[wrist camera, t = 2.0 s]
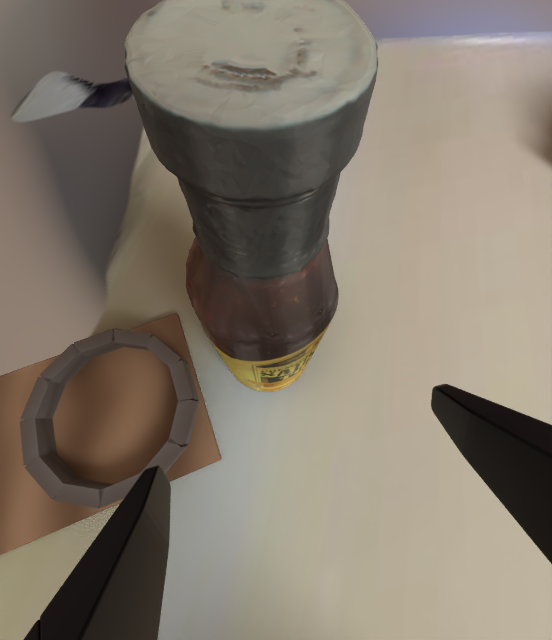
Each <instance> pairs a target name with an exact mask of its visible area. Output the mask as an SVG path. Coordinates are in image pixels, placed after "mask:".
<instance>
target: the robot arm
mask: <svg viewBox="0 0 552 640" xmlns="http://www.w3.org/2000/svg"><path fill="white" fill-rule="evenodd" d="M431 407H432V410H433V412H434V414H435V415H436V417H437V418H438V420H439V421H440V423H441V424H442V426H443V427H444V429H445V430H446V432H447V433H448V435H449V436H450V437H451V439H452V440H453V442H454V443H455V445H456V446H457V448H458V449H459V451H460V452H461V453H462V455H463V456H464V457H465V459H466V460H467V461H468V462H469V464H470V465H471V466H472V467H473V469H474V470H475V471H476V472H477V473H478V475H479V476H480V477H481V478H482V479H483V481H484V482H485V483H486V484H487V486H488V487H489V488H490V489H491V490H492V492H493V493H494V494H495V495H496V497H497V498H498V499H499V500H500V501H501V503H502V504H503V505H504V506H505V508H506V509H507V510H508V511H509V512H510V514H511V515H512V516H513V517H514V519H515V520H516V521H517V522H518V523H519V525H520V526H521V527H522V528H523V530H524V531H525V532H526V533H527V534H528V536H529V537H530V538H531V539H532V540H533V542H534V543H535V544H536V545H537V547H538V548H539V549H540V550H541V551H542V553H543V554H544V555H545V556H546V558H547V559H548V560H549V561H550V562H551V564H552V425H550V424H548V423H545V422H543V421H540V420H538V419H535V418H532V417H530V416H527V415H525V414H522V413H520V412H517V411H515V410H512V409H509V408H507V407H504V406H502V405H499V404H497V403H494V402H492V401H489V400H486V399H484V398H481V397H479V396H476V395H474V394H471V393H469V392H466V391H464V390H461V389H458V388H456V387H453V386H451V385H448V384H442V385H438V386H435V387H434V388H433V390H432V400H431ZM170 496H171V487H170V482H169V480H168V478H167V476H166V475H165V473H164V471H163V469H162V468H161V466H159V465H158V466H154V467H150V468H147V469H145V470H144V471H143V473H142V474H141V475H140V477H139V478H138V480H137V481H136V482H135V484H134V485H133V487H132V488H131V489H130V491H129V492H128V494H127V495H126V496H125V498H124V499H123V501H122V502H121V504H120V505H119V506H118V508H117V509H116V511H115V512H114V513H113V515H112V516H111V518H110V519H109V520H108V522H107V523H106V525H105V526H104V527H103V529H102V530H101V532H100V533H99V534H98V536H97V537H96V539H95V540H94V541H93V543H92V544H91V546H90V547H89V549H88V550H87V551H86V553H85V554H84V556H83V557H82V558H81V560H80V561H79V563H78V564H77V565H76V567H75V568H74V570H73V571H72V572H71V574H70V575H69V577H68V578H67V579H66V581H65V582H64V584H63V585H62V586H61V588H60V589H59V591H58V592H57V593H56V595H55V596H54V598H53V599H52V601H51V602H50V603H49V605H48V606H47V608H46V609H45V610H44V612H43V613H42V615H41V616H40V620H38V621H36V623H35V624H34V626H33V627H32V628H31V630H30V631H29V633H28V634H27V635H26V637H25V638H24V640H157V639H158V631H159V623H160V615H161V607H162V599H163V591H164V583H165V575H166V567H167V559H168V550H169V534H170Z"/></svg>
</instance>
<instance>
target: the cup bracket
mask: <svg viewBox="0 0 552 640" xmlns="http://www.w3.org/2000/svg"><path fill="white" fill-rule="evenodd" d="M219 460H221V455H220V452H219V449H218V445H217V442H216V439H215V435H214V432H213V429H212V426H211V422H210V419H209V416H208V412H207V409H206V406H205V402H204V399H203V396H202V392H201V389H200V386H199V382H198V379H197V376H196V372H195V369H194V366H193V363H192V359H191V356H190V353H189V349H188V346H187V343H186V339H185V336H184V333H183V329H182V326H181V323H180V319H179V316H178V314H177V313H175V314H172V315H169V316H167V317H164V318H161V319H158V320H155V321H153V322H150V323H147V324H144V325H141V326H139V327H136V328H133V329H130V330H120V329H115V330H113V329H111V330H108V331H105V332H103V333H100V334H97V335H94V336H91V337H89V338H86V339H83V340H80V341H77V342H75V343H74V345H73V344H72V345H70V346H69V347H68V348H67V349H66V350H65V351H64V352H63V353H62V354H60V355H58V356H55V357H52V358H49V359H46V360H44V361H41V362H38V363H35V364H33V365H30V366H27V367H24V368H22V369H19V370H16V371H13V372H10V373H8V374H5V375H2V376H0V555H1V554H3V553H6V552H8V551H10V550H13V549H15V548H17V547H20V546H22V545H24V544H27V543H29V542H31V541H33V540H36V539H38V538H40V537H43V536H45V535H47V534H50V533H52V532H54V531H57V530H59V529H61V528H64V527H66V526H68V525H71V524H73V523H75V522H77V521H80V520H82V519H84V518H87V517H89V516H91V515H94V514H96V513H98V512H101V511H103V510H105V509H108V508H110V507H112V506H115V505H117V504H119V503H121V502H122V501H123V499H124V498H125V496H126V495H127V494H128V492H129V491H130V489H131V488H132V487H133V485H134V484H135V482H136V481H137V480H138V478H139V477H140V475H141V474H142V473H143V471H144V470H145V469H147V468H150V467H154V466H158V465H159V466H161V468H162V469H163V471H164V473H165V475H166V476H167V478H168V480H169V482H170V481H172V480H175V479H177V478H179V477H182V476H184V475H186V474H189V473H191V472H193V471H196V470H198V469H200V468H203V467H205V466H207V465H209V464H212V463H214V462H216V461H219Z"/></svg>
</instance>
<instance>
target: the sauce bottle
mask: <svg viewBox="0 0 552 640" xmlns="http://www.w3.org/2000/svg"><path fill="white" fill-rule="evenodd" d="M125 57H126V62H125V70H126V73H127V76H128V79H129V82H130V86H131V89H132V92H133V94H134V97H135V100H136V103H137V106H138V109H139V112H140V115H141V118H142V122H143V125H144V128H145V131H146V134H147V136H148V139H149V142H150V145H151V148H152V149H153V151H154V153H155V154H156V156H157V158H158V159H159V161H160V162H161V163H162V164H163V165H164V166H165V167H166V169H167V170H169V171H170V172H172V173H173V174H174V175H175V176H177V177H178V181H179V185H180V187H181V190H182V192H183V194H184V196H185V199H186V201H187V205H188V208H189V211H190V214H191V217H192V219H193V231H194V233H195V236H196V238H195V239H194V242H193V245H192V247H191V249H190V251H189V256H188V258H187V263H186V288H187V292H188V295H189V298H190V300H191V303H192V307H193V308H194V309H195V312H196V314H197V316H198V318H199V320H200V321H201V324H202V327H203V329H204V331H205V333H206V335H207V336H208V338H209V339H210V341H211V342H212V344H213V345H214V346H215V348H216V349H217V351H218V352H219V354H220V355H221V357H222V358H223V360H224V362H225V363H226V364H227V366H228V367H229V369H230V370H231V372H232V373H233V375H234V376H235V377H236V378H237V379H238V380H239V381H240V382H241V383H242V384H244V385H245V386H247V387H249V388H251V389H254V390H257V391H264V392H273V391H276V390H280V389H283V388H285V387H287V386H289V385H290V384H292V383H293V382H294V381H295V380H296V379H297V378H298V377H299V376H300V375H301V374H302V372H303V370H304V369H305V367H306V365H307V363H308V361H309V360H310V358H311V356H312V354H313V353H314V351H315V349H316V348H317V346H318V344H319V342H320V340H321V338H322V336H323V335H324V333H325V331H326V329H327V328H328V326H329V324H330V322H331V320H332V318H333V316H334V314H335V311H336V308H337V304H338V287H337V283H336V280H335V277H334V272H333V266H332V261H331V256H330V250H329V245H328V239H327V237H328V234H329V213H330V210H331V207H332V203H333V200H334V197H335V194H336V189H337V185H338V181H339V177H340V172H341V171H342V170H343V169H344V168H345V167H346V165H347V164H348V163H349V161H350V160H351V159H352V157H353V156H354V154H355V152H356V150H357V148H358V146H359V143H360V140H361V137H362V133H363V126H364V122H365V119H366V115H367V111H368V107H369V103H370V99H371V96H372V92H373V89H374V85H375V82H376V75H377V68H378V57H377V44H376V41H375V40H374V38H373V36H372V34H371V33H370V31H369V30H368V28H367V27H366V25H365V24H364V23H363V21H362V20H361V18H360V17H359V16H358V15H357V14H356V13H355V12H354V10H353V9H352V8H351V7H350V6H349V5H348V4H347V3H346V2H345V1H343V0H163V1H161V2H160V3H159V4H158V5H156V6H155V7H154V8H152V9H150V10H148V11H146V12H144V13H143V14H142V15H141V16H140V17H139V19H138V20H137V21H136V22H135V24H134V25H133V27H132V28H131V30H130V32H129V34H128V36H127V38H126V42H125Z"/></svg>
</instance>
